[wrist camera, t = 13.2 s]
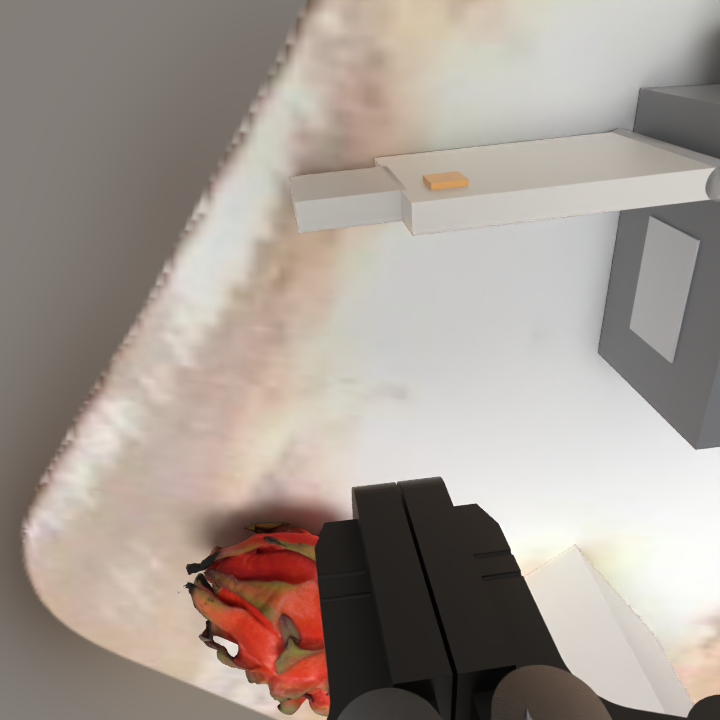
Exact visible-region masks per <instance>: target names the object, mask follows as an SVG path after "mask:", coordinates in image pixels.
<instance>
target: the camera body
mask: <svg viewBox="0 0 720 720" xmlns="http://www.w3.org/2000/svg"><path fill="white" fill-rule="evenodd" d="M633 132H635V133H638V134H641V135H644V136H648V137H651V138H654V139H657V140H660V141H663V142H667V143H670V144H673V145H676V146H679V147H682V148H686V149H689V150H692V151H695V152H698V153H701V154H705V155H708V156H711V157H714V158H717V159H720V84H706V85H690V86H673V87H656V88H640V93H639V99H638V106H637V112H636V118H635V124H634V131H633ZM598 353H599V354H600V355H601V356H602V357H603V358H604V359H605V360H606V361H607V362H608V363H609V364H610V365H611V366H612V367H613V368H614V369H615V370H616V371H617V372H618V373H619V374H620V375H621V376H622V377H623V378H624V379H625V380H626V381H627V382H628V383H629V384H630V385H631V386H632V387H633V388H634V389H635V390H636V391H637V392H638V393H639V394H640V395H641V396H642V397H643V398H644V399H645V400H646V401H647V402H648V403H649V404H650V405H651V406H652V407H653V408H654V409H655V410H656V411H657V412H658V413H659V414H660V415H661V416H662V417H663V418H664V419H665V420H666V421H667V422H668V423H669V424H670V425H671V426H672V427H673V428H674V429H675V430H676V431H677V432H678V433H679V434H680V435H681V436H682V437H683V438H684V439H685V440H686V441H687V442H688V443H689V444H690V445H691V446H692V447H693V448H694V449H695V450H697V449H705V448H713V447H720V201H719V202H717V201H713V200H702V201H694V202H686V203H678V204H669V205H661V206H653V207H645V208H636V209H628V210H621V212H620V219H619V225H618V231H617V237H616V244H615V250H614V256H613V262H612V269H611V275H610V281H609V288H608V294H607V300H606V306H605V313H604V319H603V325H602V332H601V338H600V344H599V350H598Z"/></svg>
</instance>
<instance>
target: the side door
mask: <svg viewBox="0 0 720 720" xmlns="http://www.w3.org/2000/svg"><path fill="white" fill-rule="evenodd" d="M374 160H375V167H372V168H363V169H354V170H345V171H336V172H327V173H318V174H309V175H300V176H291V177H289V179H290V187H291V195H292V202H293V208H294V213H295V218H296V223H297V228H298V233H303V232H311V231H320V230H328V229H337V228H345V227H353V226H362V225H370V224H379V223H387V222H396V221H403V223H404V224H405V225H406V227H407V228H408V230H409V231H410V232H411V234H412V235H421V234H430V233H438V232H446V231H454V230H463V229H471V228H479V227H487V226H496V225H504V224H512V223H520V222H529V221H537V220H545V219H554V218H562V217H570V216H578V215H587V214H595V213H603V212H611V211H620V210H628V209H636V208H645V207H653V206H661V205H669V204H678V203H686V202H694V201H702V200H713V201H717V202H719V201H720V159H717V158H714V157H711V156H708V155H705V154H701V153H698V152H695V151H692V150H689V149H686V148H682V147H679V146H676V145H673V144H670V143H667V142H663V141H660V140H657V139H654V138H651V137H648V136H644V135H641V134H638V133H635V132H632V131H629V130H625V129H615V130H613V131H612V132H606V133H597V134H588V135H579V136H570V137H561V138H552V139H542V140H533V141H524V142H515V143H506V144H497V145H488V146H479V147H469V148H460V149H451V150H442V151H433V152H424V153H415V154H405V155H396V156H387V157H378V158H374Z"/></svg>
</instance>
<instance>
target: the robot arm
mask: <svg viewBox="0 0 720 720" xmlns="http://www.w3.org/2000/svg"><path fill="white" fill-rule="evenodd" d="M352 509H353V519H352V520H344V521H336V522H329V523H325V524H324V526H323V528H322V531H321V533H320V536H319V538H318V541H317V543H316V545H315V548H314V549H315V560H316V570H317V581H318V591H319V601H320V612H321V621H322V631H323V640H324V650H325V659H326V668H327V678H328V687H329V697H330V708H329V714H328V717H327V720H720V695H713V696H709V697H706V698H704V699H702V700H700V701H699V702H697V703H696V704H695V705H694V706H693V707H692V709H691V710H690V711H689V713H688V716H687V718H686V717H680V716H674V715H668V714H662V713H656V712H650V711H644V710H638V709H633V708H628V707H624V706H621V705H618V704H615V703H612V702H610V701H608V700H606V699H604V698H602V697H600V696H598V695H597V694H596V693H595V692H594V691H593V690H592V689H591V688H590V687H589V686H588V685H587V684H586V683H585V682H583V681H582V680H581V679H579V678H578V677H576V676H575V675H573V674H572V673H571V671H570V670H569V669H568V667H567V666H566V665H565V663H564V661H563V659H562V657H561V655H560V653H559V651H558V649H557V647H556V645H555V643H554V640H553V638H552V636H551V634H550V632H549V630H548V628H547V626H546V623H545V621H544V619H543V617H542V615H541V613H540V611H539V609H538V606H537V604H536V602H535V600H534V598H533V596H532V594H531V592H530V589H529V587H528V585H527V583H526V581H525V579H524V577H523V576H521V570H520V568H519V566H518V564H517V562H516V560H515V558H514V555H512V554H511V549H510V547H509V545H508V543H507V541H506V538H505V536H504V534H503V532H502V530H501V528H500V526H499V524H498V523H497V522H496V521H495V520H494V519H493V518H492V517H490V516H489V515H488V514H487V513H486V512H485V511H484V510H483V509H482V508H480V507H479V506H478V505H477V504H469V505H462V506H453V503H452V501H451V498H450V496H449V493H448V491H447V488H446V486H445V483H444V481H443V479H442V478H441V477H432V478H424V479H416V480H407V481H399V482H397V485H396V483H395V482H392V483H384V484H376V485H368V486H359V487H352Z"/></svg>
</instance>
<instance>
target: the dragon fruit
mask: <svg viewBox="0 0 720 720" xmlns="http://www.w3.org/2000/svg"><path fill="white" fill-rule="evenodd" d="M244 529H247V530H252V531H253V532H255V533H257V534H255V535H253V536H251V537H250V538H248V539H247V540H245V541H243V542H240V543H238V544H236V545H233V546H230V547H226V548H223V547H217V546H216V547H214V548H213V550H212V552H211V554H210V555H209V556H208V557H207V558H206V559H204V560H203V561H202V562H201V563H200V564H197V563H193V564H187V567H186V569H187V572H188V574H189V575H190V574H192V573H197V572H199V571H203V570H205V572H204V574H205V575H203V574H202V573H199V574H198V575H197V577H196V578H195V581H194V584H192V583H189V582H188V583H187V584H186V585H185V586H186V588H188V589H189V590H188V591H189V593H190V594H191V597H192V600H193V604H194V607H195V608H196V609H197V610H198V611H199V612H200V613H201V614H202V615H203V616H204V617H205V618H206V619H208V620H207V621H206V629H205V630H204V631H203V633H202V634H200V635H199V638H200V639H201V640H202V641H203V642H204V643H205V644H206V645H207V646H208V647H211V648H213V649H216V650H218V651H217V658H218V659H219V660H220V661H221V662H222V663H223V664H225V665H228V666H230V667H233V668H238V669H242V670H246V671H245V672H246V677H247V679H248V681H249V683H256V684H268V685H269V690H270V695H271V696H272V697H273V698H274V700H278V701H279V702H280V704H279V705H278V706H277V707H278V709H279V710H280V711H281V712H282V713H284V714H287V715H292V714H294V713H295V712H296V711H297V710H298V709H299V707H300V706H301V704H302V703H303V702H304V701H305V700H306V699H308V700H309V704H310V707H311V709H312V710H313V711H314V712H315V713H316V714H318V715H322V716H328V714H329V708H330V697H329V687H328V678H327V668H326V659H325V650H324V640H323V631H322V621H321V612H320V601H319V591H318V581H317V570H316V560H315V549H314V548H315V545H316V543H317V541H318V538H319V537H318V536H315V535H311V534H310V532H308V531H307V530H305V529H303V528H294V527H291V525H290V524H289V523H263V524H252V525H250V526H247V527H244ZM206 579H207V580H208V581H209V582H210V583H213V584H212V587H211V586H210V584H209V583H208V581H207V580H206ZM178 593H179V592H178ZM213 636H219V637H222V638H224V639H226V640H228V641H231V642H233V643H235V644H238V648H239V650H238V653H237V655H236V656H235V657H232V656H231V655H230V654H229V653H228V651H227V649H226V648H225V647H224V646H221V645H220V644H218V643H216V642H214V640H213Z"/></svg>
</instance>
